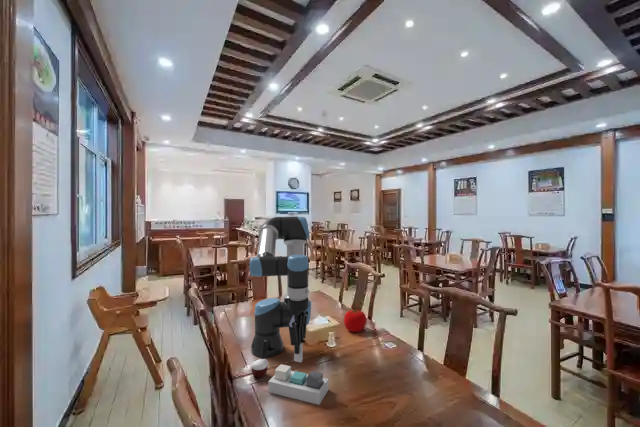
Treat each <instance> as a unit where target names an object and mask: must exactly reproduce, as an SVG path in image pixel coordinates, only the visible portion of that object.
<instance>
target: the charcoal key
mask: <svg viewBox="0 0 640 427" xmlns="http://www.w3.org/2000/svg"><path fill="white" fill-rule="evenodd" d="M323 378H324V373H323V372H318V371H315V370H311V371H310V372H309V374H308V376H307V387H310V388H314V389H318V390H319V389H320V388H321V386H322V385H323Z"/></svg>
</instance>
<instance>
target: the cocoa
mask: <svg viewBox="0 0 640 427" xmlns="http://www.w3.org/2000/svg"><path fill="white" fill-rule="evenodd" d="M266 347H267V341H265V340H264V342H263V349H262V355H261V357H260V359H259V358H258V359H257V360H255V361H252V363H251V365H250V367H251V373H252V375H253V377H254V378H257V379H260V378H263V377H264V376H266V374H267V372H268V365H269V361H268V359H266V357H265V354H266Z"/></svg>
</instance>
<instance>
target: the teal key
mask: <svg viewBox="0 0 640 427" xmlns="http://www.w3.org/2000/svg"><path fill="white" fill-rule="evenodd" d="M294 372H295V373H294V374H293V375H292V376H291V383H293V384H297V385H301V386H302V385H303V384H304V383H305V382H306V380H307V374H308V373H306V372H301V371H298V370H296V371H294Z"/></svg>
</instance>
